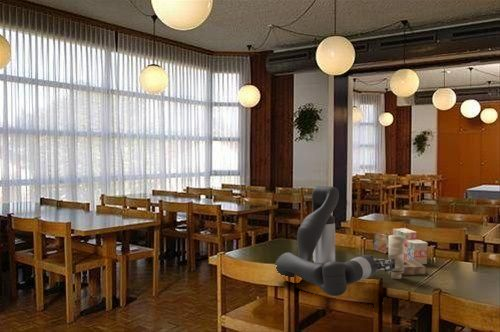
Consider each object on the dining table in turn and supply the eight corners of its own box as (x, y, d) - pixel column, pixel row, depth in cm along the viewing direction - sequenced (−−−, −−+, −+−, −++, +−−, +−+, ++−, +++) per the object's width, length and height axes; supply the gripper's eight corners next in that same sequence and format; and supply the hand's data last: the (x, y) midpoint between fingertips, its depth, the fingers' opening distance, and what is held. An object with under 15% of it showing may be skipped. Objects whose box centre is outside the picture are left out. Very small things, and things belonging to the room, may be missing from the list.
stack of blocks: (427, 264, 201) (427, 235, 201) (413, 264, 201) (413, 236, 200) (405, 253, 223) (405, 227, 222) (392, 254, 222) (392, 228, 221)
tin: (372, 248, 234) (372, 231, 234) (378, 248, 235) (378, 231, 234) (387, 255, 219) (387, 237, 219) (394, 254, 220) (394, 236, 220)
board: (390, 275, 184) (390, 267, 184) (380, 267, 196) (380, 260, 196) (425, 274, 185) (425, 266, 185) (413, 266, 197) (413, 259, 197)
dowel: (391, 280, 177) (391, 237, 177) (386, 276, 183) (386, 235, 183) (406, 279, 178) (406, 237, 177) (400, 275, 183) (400, 234, 183)
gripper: (342, 275, 165) (365, 266, 177) (379, 282, 155) (401, 273, 167) (342, 254, 165) (365, 246, 177) (379, 260, 155) (401, 252, 167)
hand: (382, 259), depth 172 cm, fingers open, 8 cm apart
